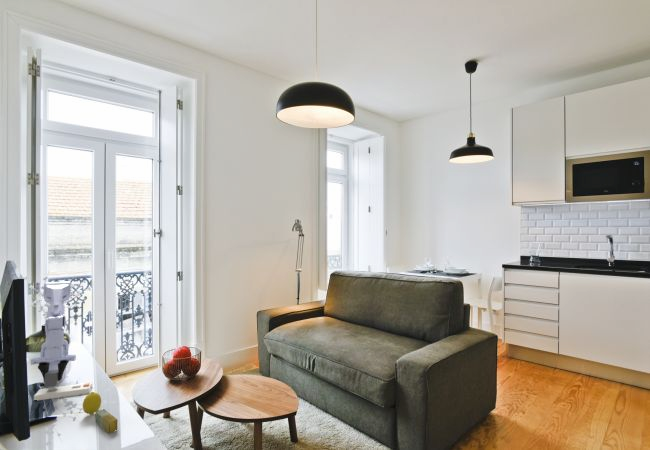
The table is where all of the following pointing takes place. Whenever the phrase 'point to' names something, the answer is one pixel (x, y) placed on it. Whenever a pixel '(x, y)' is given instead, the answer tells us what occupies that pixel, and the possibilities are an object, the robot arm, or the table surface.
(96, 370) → the table surface
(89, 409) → the lemon
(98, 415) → the medication box
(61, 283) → the robot arm
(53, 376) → the block
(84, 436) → the table surface
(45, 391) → the power strip
